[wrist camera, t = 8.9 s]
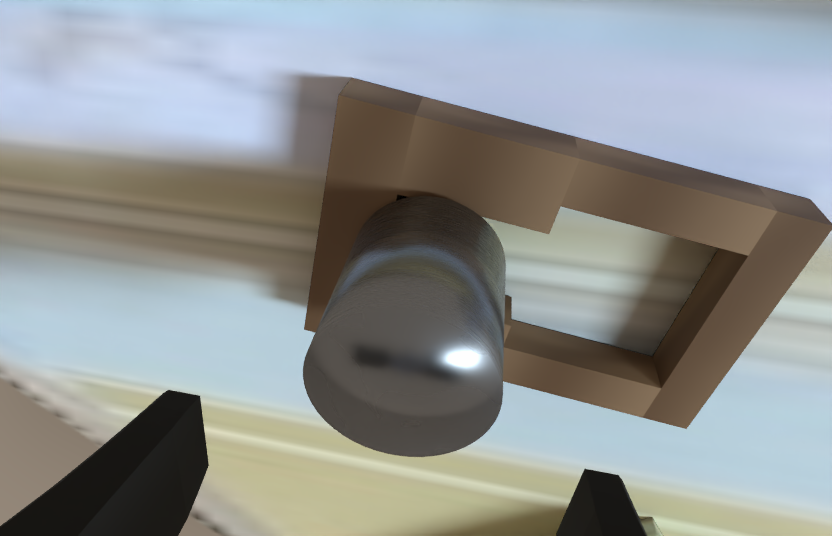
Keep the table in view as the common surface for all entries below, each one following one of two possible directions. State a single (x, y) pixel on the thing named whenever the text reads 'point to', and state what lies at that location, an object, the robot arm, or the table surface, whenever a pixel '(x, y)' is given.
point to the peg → (413, 332)
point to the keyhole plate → (537, 209)
